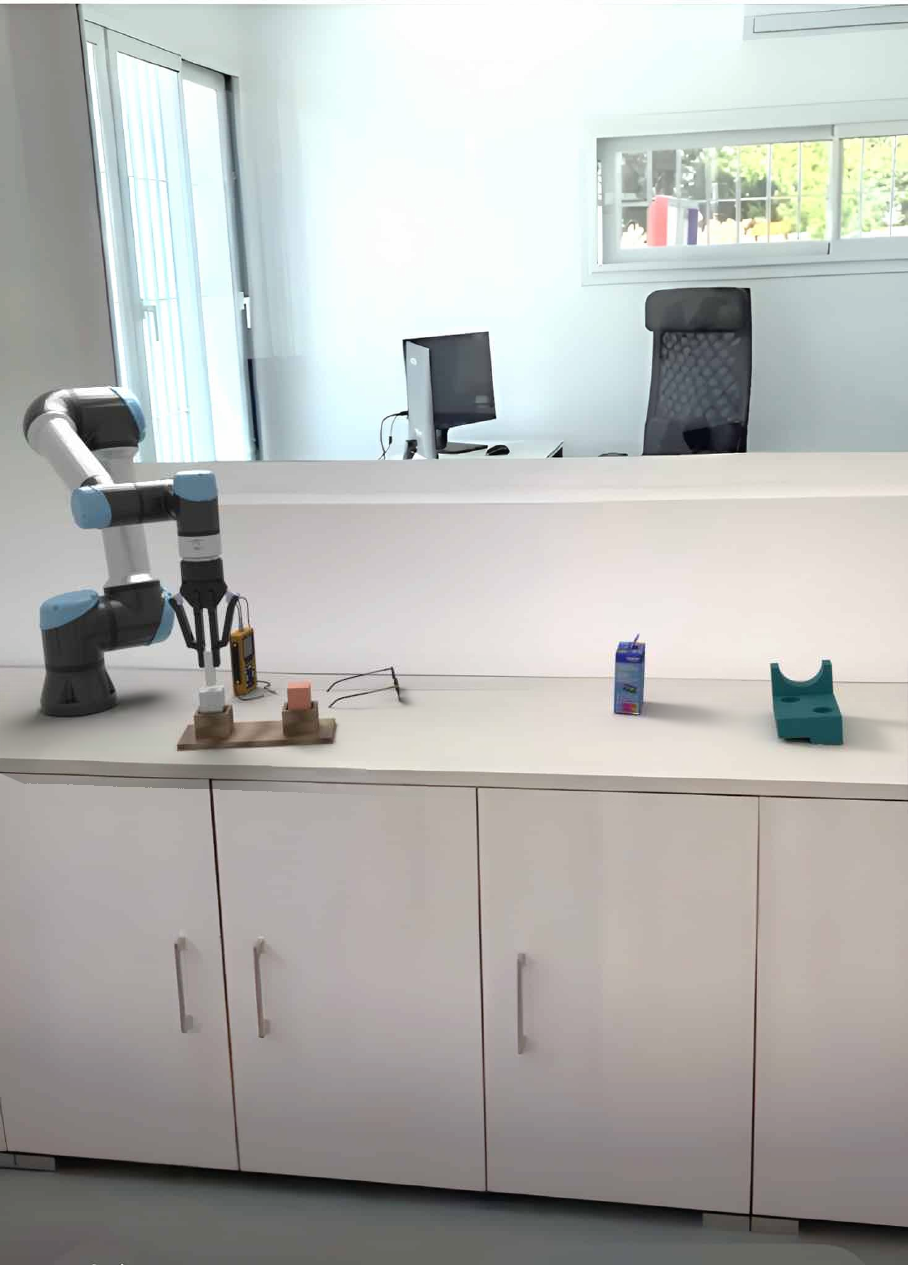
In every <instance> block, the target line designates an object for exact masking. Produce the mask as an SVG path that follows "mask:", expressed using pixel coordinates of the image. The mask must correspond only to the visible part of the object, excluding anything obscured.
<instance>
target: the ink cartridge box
mask: <svg viewBox="0 0 908 1265" xmlns="http://www.w3.org/2000/svg"><path fill="white" fill-rule="evenodd" d="M639 637H640V633H638V634H637V635H636V636H635V638H634V640H633V641H619V642H618V645H617V649H616V651H615V654H614V655H615V657H614V660H615V661H614V680H613V681H614V684H613V686H614V687H613V688H614V689H613V691H614V692H613V713H614V714H616V713H617V714H625V713H640V712H641V713H642V710H641V708H643V706H642V705H644V702H643V701H644V692H645V691H644V690H645V675H646V674H645V672H646V671H645V669H646V668H645V667H646V666H645V665H646V642H639V641H638V640H639ZM641 713H640V714H641Z"/></svg>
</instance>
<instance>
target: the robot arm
mask: <svg viewBox="0 0 908 1265" xmlns="http://www.w3.org/2000/svg"><path fill="white" fill-rule="evenodd" d="M146 427H147V424H146V418H145V413H144V410H143V407H142V405H141V403H140V401H139V399H138V397H137V396H136V395H135V393H134V392H133V391H132V390H130V389H129V388H126V387H118V386H117V387H116V386H115V387H114V386H108V385H107V386H98V387H97V386H95V387H83V388H82V387H77V388H56V389H51V390H47V391H46V392H45V393H42V394H40V395H39V396H38V397H37V398H35V399H34V400H33V401H31V403H30V404H29V406H27V408H26V410H25V413H24V417H23V420H22V432H23V436H24V439H25V441H26V443H27V444H28V445H29V447H30V448H31V450H33V452H34V453H36V454H37V455H39V456H41V457H44V458H45V459H46V461H47V462H48V463H49V464H50V466H51V467H52V469H53V470H54V472H55V473H56V474H57V475H58V477H59V479H61V481H62V482H63V484H64V485H65V486H66V488H67V489H68V490H69V491H70V493H71V496H70V508H71V509H70V510H71V514H72V517H73V519H74V523H75V524H76V526H77V527H79V528H80V529H83V530H92V529H95V530H101V536H102V543H103V548H104V554H105V560H106V566H107V567H106V568H107V574H108V579H107V581H106V582H105V583H104V584H103V586H102V588H103V589H102V590H103V595H99V594H98V592H97V591H96V590H93V589H81V590H74V591H69V592H64V593H61V594H58V595H55V596H52V597H50V598H48V599H46V600H45V601H44V602H42V603H41V605H40V607H39V624H38V625H39V628H40V633H41V641H42V642H41V643H42V650H43V657H44V658H43V660H44V667H45V677H44V681H43V685H42V689H41V694H40V699H39V703H40V711H41V713H43V714H45V715H49V716H55V717H73V716H74V717H75V716H76V717H77V716H83V715H91V714H95V713H100V712H103V711H106V710H108V709H111V708H113V707H115V706H116V705H117V704H118V692H117V689H116V687H115V685H114V683H113V681H112V679H111V676H110V674H109V672H108V670H107V668H106V663H105V662H106V660H105V653H107V652H109V653H110V652H115V651H120V650H128V649H133V648H139V647H150V646H151V645H154V644H159V643H163V642H165V641H167V640H168V639H169V637H170V636H171V634H172V631H173V629H174V625H175V615H176V618H177V619H176V620H177V622H178V625H179V628H180V631H181V634H182V637H183V640H184V642H185V645H186V647H187V649H192V650H195V651H196V652H197V660H198V667H199V668H200V669H204V674H205V675H204V676H205V686H216V684H217V672H216V671H217V670H216V668H219V667H220V666H221V663H222V661H221V649H222V648H226V647H227V646H228V645H229V644H230V643H229V640H230V634H231V632H232V627H233V621H234V615H235V609H236V604H237V605H238V600H239V601H240V599H241V598H240V597H241V595H240V593H238V592H233V591H232V590H230V589H228V585H227V583H226V581H225V575H224V563H223V561H224V560H223V558H222V557H221V555H222V554H223V549H222V535H221V527H220V512H219V510H220V509H219V489H218V487H217V480H216V475H215V473H214V472H213V471H211V470H201V469H200V470H183V471H178V472H176V473H175V474H173V477H168V478H164V477H163V478H159V479H157V480H150V481H140V482H138V481H137V475H136V469H135V462H134V458H135V456H136V455H137V454H138V452H139V451H140V447H139V444H140V443H141V442H144V439H145V437H146V432H147V431H146ZM165 522H176V533H177V543H178V555H179V557H180V558H182V559H181V560H180V561H179V565H180V566H179V567H180V577H181V585H180V586H179V589H178V590H179V592H177V593H176V594H174V595H172V593H171V590H170V589H169V588H168V587H165V586H161V579H160V578H159V577H158V576H156V575H155V574H154V573H153V572H152V570H151V564H150V559H149V558H150V556H149V551H148V546H147V545H148V544H147V539H146V532H145V526H144V524H153V523H165ZM224 597H225V602H226V603H227V607H226V611H225V615H224V617H225V618H224V622H223V628H222V633H221V634H222V635H221V639H220V633H219V631H220V630H219V629H220V628H219V620H218V618H219V617H218V606H219V604H220V603H221V601H222V599H223V598H224ZM239 598H240V599H239ZM183 599H184V600H185V601H186V603H187V604H188V605H189V606H190V607H191V608H192V613H193V617H194V629H195V631H194V632H195V637H194V633H193V631H192V626H191V625H190V622H189V619H188V616H187V613H186V611H185V608H184V605H183V604H184V600H183ZM204 609H206V610H207V615H208V626H209V637H210V638H209V639H210V648H209V647H207V648H206V646H207V644H206V635H205V632H206V631H205V623H204V622H205V621H204Z"/></svg>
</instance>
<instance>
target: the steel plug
mask: <svg viewBox="0 0 908 1265" xmlns="http://www.w3.org/2000/svg"><path fill="white" fill-rule="evenodd" d="M198 696H199V698H198V700H199V706H200V712H201V714H214V713H225V712H226V694H225V685H215V686H206V685H204V686H201V688H200V689H199V691H198Z"/></svg>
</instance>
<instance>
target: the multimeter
mask: <svg viewBox="0 0 908 1265" xmlns="http://www.w3.org/2000/svg"><path fill="white" fill-rule="evenodd" d="M241 599H243V600H245V602H246V608H247V609H246V612H247V623H248V627H244V623H243V614H242V606H241V604H240V600H241ZM235 607H236V608H237V611H238V618H237V619H238V629H236V630H235V631H234V632H232V633H231V634H230V640H229V643H228V644H229V653H230V664H231V665H230V668H231V669H230V670H231V679H232V690H233V691H232V692H233V694H234V695H236V698H238V699H239V700H242V701H250V700H254V699H259V698H263V697H265V696H268V695H270V694H273V693H274V694H278V695H280V693H279V692H277V691H276V690H274V689H273V688H267V687H269V686H270V685H271V683H270V682H269V681H264V680H258V675H257V659H256V645H255V644H256V643H255V631H254V628H253V627H251V625H250V616H249V615H250V613H249V603H248V600H247V598H246V597H244V596H240V598H239V600H238V602H237V604H236V605H235ZM258 683H267V684H268V685H267V684H266V685H265V686H264V687H263V688H264V690H265V689H266V690H268V692H269V693H262V694H259V695H258V694H257V695H255V696H252V697H249V698H241V697H240V696H239V695H247V694H248V693H249V692H250V691H252V690H253V689H255V688H257V686H258ZM271 692H272V693H271Z"/></svg>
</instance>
